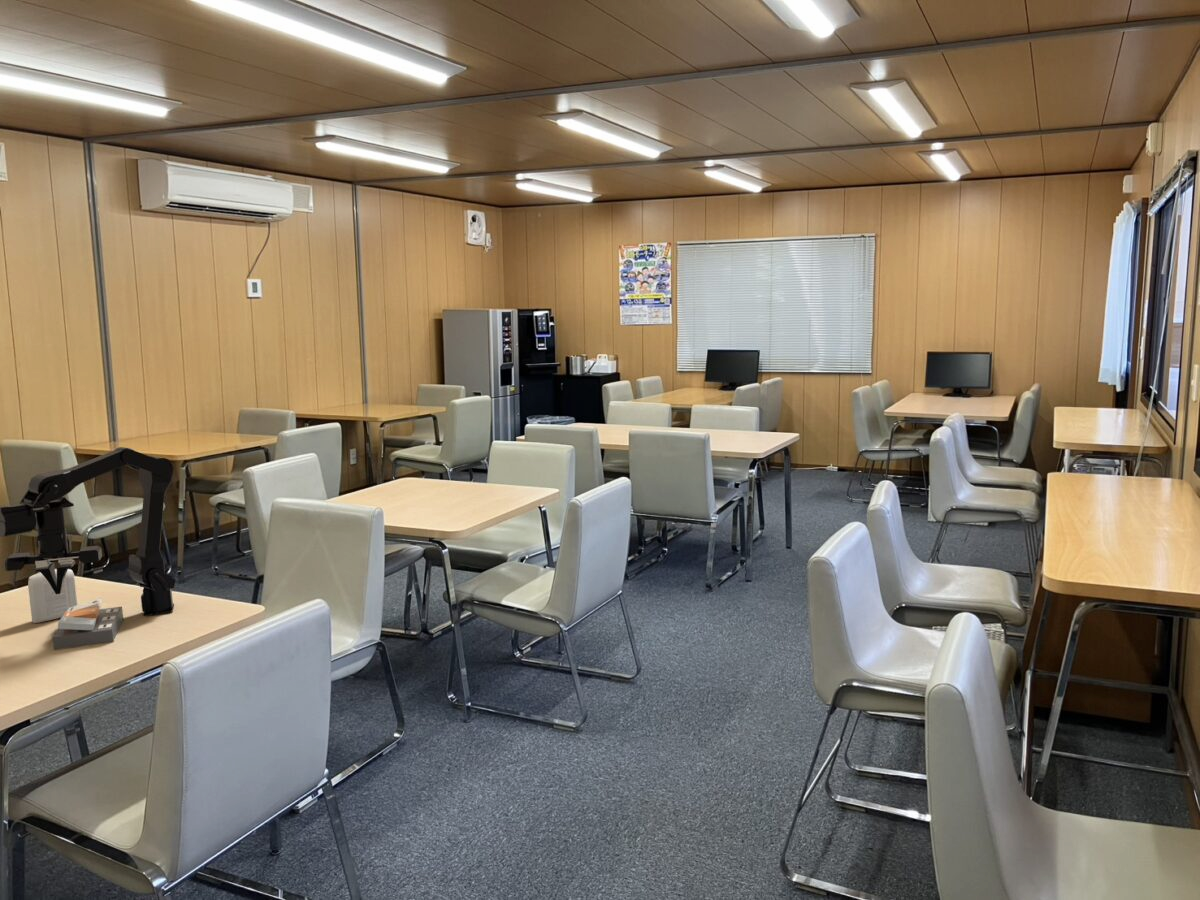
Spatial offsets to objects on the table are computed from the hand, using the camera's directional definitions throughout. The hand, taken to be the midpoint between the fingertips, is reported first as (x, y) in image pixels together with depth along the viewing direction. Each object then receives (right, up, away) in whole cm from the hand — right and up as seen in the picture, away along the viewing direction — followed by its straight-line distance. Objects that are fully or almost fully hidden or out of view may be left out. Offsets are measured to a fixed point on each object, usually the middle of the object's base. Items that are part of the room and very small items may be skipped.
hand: (58, 593), depth 210 cm
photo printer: (-10, -9, +16) cm, 21 cm away
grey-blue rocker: (+6, -7, -3) cm, 10 cm away
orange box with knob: (+4, -6, +3) cm, 8 cm away
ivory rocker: (+1, -6, +9) cm, 10 cm away
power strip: (+5, -10, +4) cm, 12 cm away
